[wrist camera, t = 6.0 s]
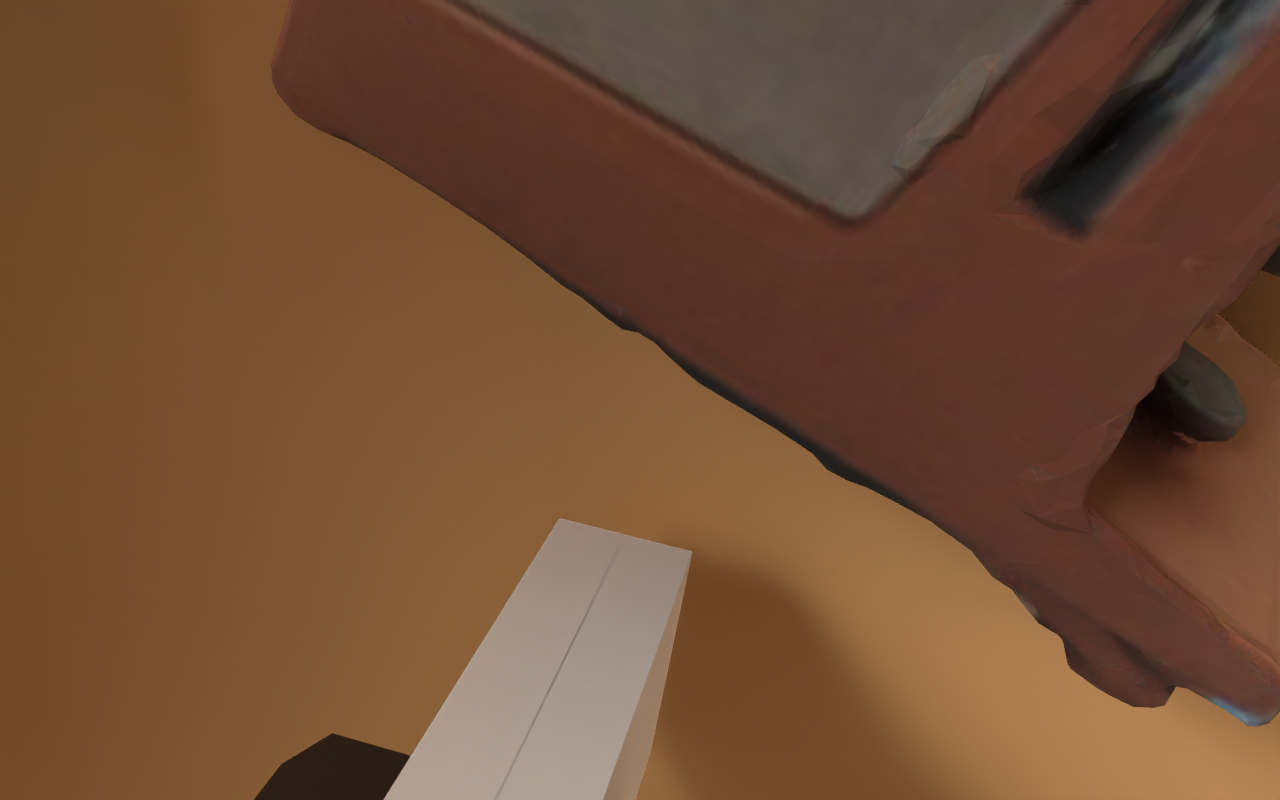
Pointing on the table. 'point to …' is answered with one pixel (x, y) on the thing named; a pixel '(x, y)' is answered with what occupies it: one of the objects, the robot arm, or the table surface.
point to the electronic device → (907, 259)
